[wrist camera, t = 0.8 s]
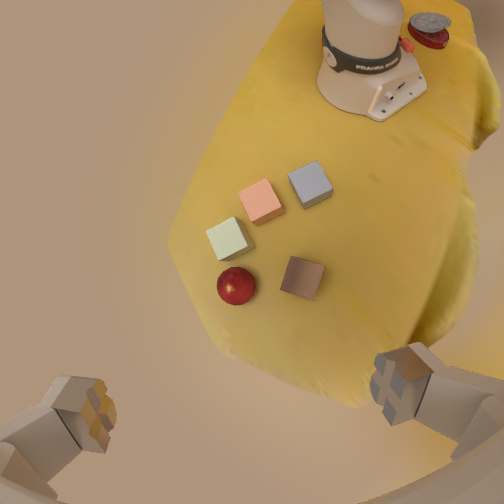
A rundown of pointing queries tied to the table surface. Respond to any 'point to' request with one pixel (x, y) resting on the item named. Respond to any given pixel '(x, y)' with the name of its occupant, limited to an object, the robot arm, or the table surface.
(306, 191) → the cube slate
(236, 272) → the pomegranate
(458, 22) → the table surface
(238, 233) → the cube sage
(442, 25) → the canned food
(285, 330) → the table surface
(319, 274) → the block walnut
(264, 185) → the cube terracotta
